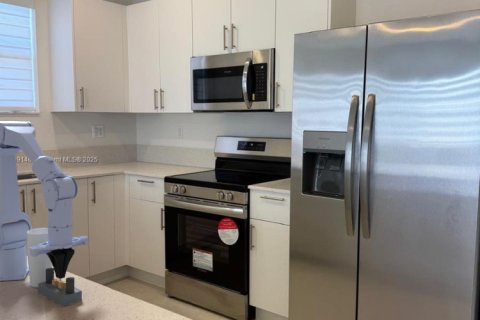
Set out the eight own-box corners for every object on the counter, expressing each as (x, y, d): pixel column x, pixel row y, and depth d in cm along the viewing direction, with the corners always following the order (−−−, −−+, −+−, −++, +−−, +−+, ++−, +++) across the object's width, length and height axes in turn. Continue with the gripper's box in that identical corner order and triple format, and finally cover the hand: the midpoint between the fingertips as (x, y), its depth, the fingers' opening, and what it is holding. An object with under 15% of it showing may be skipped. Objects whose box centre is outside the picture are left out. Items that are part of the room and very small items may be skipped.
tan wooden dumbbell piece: (51, 284, 108) (51, 279, 108) (58, 282, 110) (58, 277, 110) (61, 288, 106) (61, 284, 105) (67, 286, 107) (67, 282, 107)
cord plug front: (64, 292, 104) (64, 278, 104) (71, 290, 106) (71, 276, 106) (68, 294, 103) (69, 280, 103) (76, 292, 105) (76, 278, 105)
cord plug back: (44, 282, 110) (44, 269, 110) (51, 280, 112) (51, 267, 112) (48, 284, 109) (48, 271, 109) (55, 282, 111) (55, 269, 110)
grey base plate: (38, 292, 110) (38, 283, 109) (56, 287, 114) (56, 278, 113) (63, 306, 102) (63, 296, 102) (81, 300, 106) (81, 290, 106)
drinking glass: (43, 290, 111) (43, 235, 109) (21, 287, 112) (20, 232, 111) (59, 281, 118) (59, 228, 116) (38, 278, 119) (37, 226, 117)
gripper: (40, 233, 98) (40, 290, 99) (95, 222, 109) (94, 273, 111) (25, 227, 102) (25, 282, 103) (79, 218, 113) (79, 267, 115)
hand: (60, 277), depth 107 cm, fingers closed
